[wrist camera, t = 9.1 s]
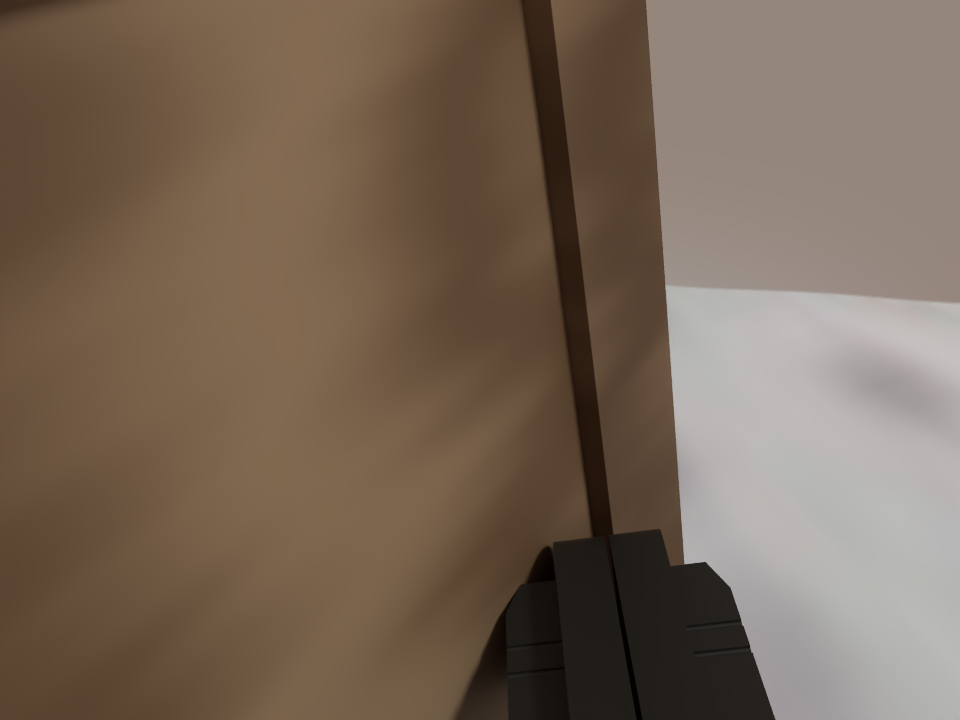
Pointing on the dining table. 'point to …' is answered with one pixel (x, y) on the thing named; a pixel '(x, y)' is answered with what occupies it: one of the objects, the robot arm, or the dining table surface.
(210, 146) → the gate
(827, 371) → the dining table surface
